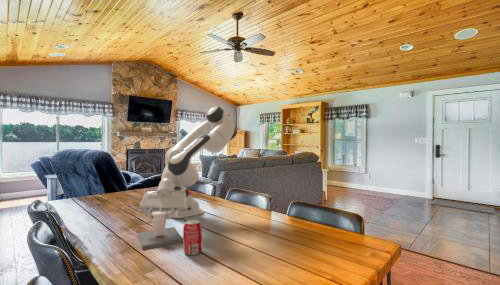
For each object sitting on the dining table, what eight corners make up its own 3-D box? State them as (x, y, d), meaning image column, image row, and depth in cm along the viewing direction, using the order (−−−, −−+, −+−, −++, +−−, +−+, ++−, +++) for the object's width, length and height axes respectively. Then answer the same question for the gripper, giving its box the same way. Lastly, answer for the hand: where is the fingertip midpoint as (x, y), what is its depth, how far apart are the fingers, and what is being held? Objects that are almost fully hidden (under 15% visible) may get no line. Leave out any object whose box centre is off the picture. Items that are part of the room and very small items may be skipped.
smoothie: (169, 231, 116) (169, 200, 116) (165, 236, 110) (165, 203, 110) (154, 231, 116) (154, 200, 116) (149, 237, 109) (149, 204, 109)
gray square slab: (174, 230, 124) (174, 227, 124) (182, 241, 110) (182, 238, 110) (138, 236, 116) (137, 232, 116) (141, 249, 102) (141, 245, 102)
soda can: (194, 246, 105) (194, 217, 104) (205, 251, 100) (205, 221, 100) (179, 252, 99) (179, 221, 99) (191, 258, 95) (191, 225, 94)
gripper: (143, 187, 120) (133, 214, 110) (186, 187, 119) (180, 215, 110) (147, 195, 124) (138, 221, 115) (189, 195, 124) (183, 222, 114)
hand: (159, 218), depth 112 cm, fingers closed on smoothie, 6 cm apart
